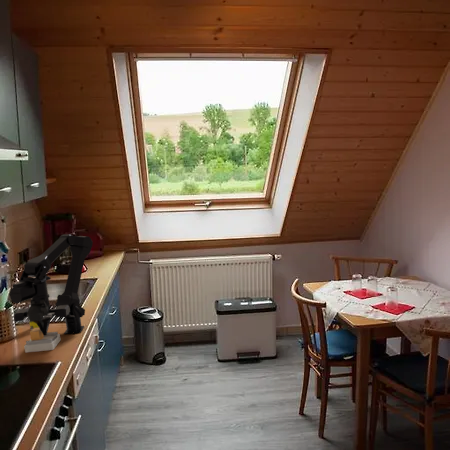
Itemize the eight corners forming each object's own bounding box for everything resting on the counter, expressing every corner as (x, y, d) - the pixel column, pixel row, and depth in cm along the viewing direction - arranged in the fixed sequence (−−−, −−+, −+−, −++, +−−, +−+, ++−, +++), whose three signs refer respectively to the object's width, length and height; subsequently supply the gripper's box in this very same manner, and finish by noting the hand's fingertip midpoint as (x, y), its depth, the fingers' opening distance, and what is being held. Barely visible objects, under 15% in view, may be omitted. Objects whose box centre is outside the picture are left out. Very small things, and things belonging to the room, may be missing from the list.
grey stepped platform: (34, 342, 169) (32, 333, 168) (60, 339, 169) (59, 330, 169) (25, 352, 160) (23, 342, 159) (53, 349, 161) (51, 340, 160)
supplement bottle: (30, 327, 185) (27, 304, 184) (44, 324, 188) (41, 301, 186) (30, 332, 180) (26, 308, 179) (44, 329, 182) (41, 305, 181)
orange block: (35, 338, 166) (33, 328, 166) (43, 337, 166) (42, 327, 166) (31, 342, 162) (30, 332, 162) (39, 341, 162) (38, 331, 162)
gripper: (4, 304, 153) (10, 346, 156) (59, 298, 155) (64, 341, 157) (16, 294, 164) (22, 334, 167) (67, 289, 165) (73, 329, 168)
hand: (45, 335), depth 164 cm, fingers closed
